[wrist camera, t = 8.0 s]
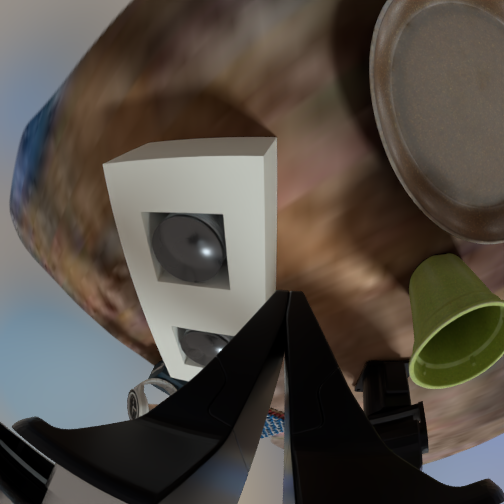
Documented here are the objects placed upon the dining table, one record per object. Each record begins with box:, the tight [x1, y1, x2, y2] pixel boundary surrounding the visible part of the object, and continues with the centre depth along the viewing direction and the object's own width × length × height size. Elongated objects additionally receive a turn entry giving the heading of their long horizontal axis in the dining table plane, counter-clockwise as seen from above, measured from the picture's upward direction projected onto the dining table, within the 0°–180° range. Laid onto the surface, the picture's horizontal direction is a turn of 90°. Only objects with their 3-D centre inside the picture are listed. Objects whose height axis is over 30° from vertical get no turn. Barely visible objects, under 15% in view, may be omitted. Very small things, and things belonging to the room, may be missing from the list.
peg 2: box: [180, 329, 234, 366], centre depth 25 cm, size 5×5×6 cm
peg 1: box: [152, 212, 227, 283], centre depth 20 cm, size 5×5×6 cm
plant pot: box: [409, 253, 504, 389], centre depth 18 cm, size 9×9×9 cm
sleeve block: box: [103, 137, 277, 381], centre depth 23 cm, size 22×10×6 cm, turn 2°
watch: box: [127, 360, 188, 420], centre depth 32 cm, size 6×8×11 cm
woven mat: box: [260, 408, 285, 438], centre depth 41 cm, size 10×11×2 cm
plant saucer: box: [369, 0, 504, 244], centre depth 12 cm, size 21×21×3 cm
